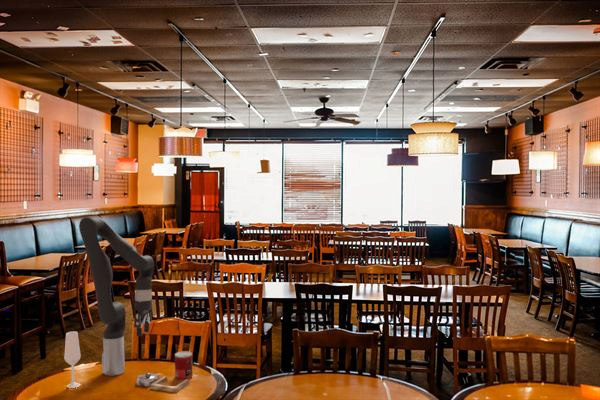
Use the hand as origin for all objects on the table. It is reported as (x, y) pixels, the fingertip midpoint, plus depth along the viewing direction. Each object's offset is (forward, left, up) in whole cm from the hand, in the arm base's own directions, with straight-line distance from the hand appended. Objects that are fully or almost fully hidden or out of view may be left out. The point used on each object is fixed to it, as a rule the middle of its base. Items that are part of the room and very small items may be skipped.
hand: (142, 334), depth 249 cm
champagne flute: (-23, -20, -20) cm, 36 cm away
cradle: (+18, -6, -20) cm, 28 cm away
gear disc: (+6, -5, -20) cm, 22 cm away
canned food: (+18, +5, -20) cm, 28 cm away
